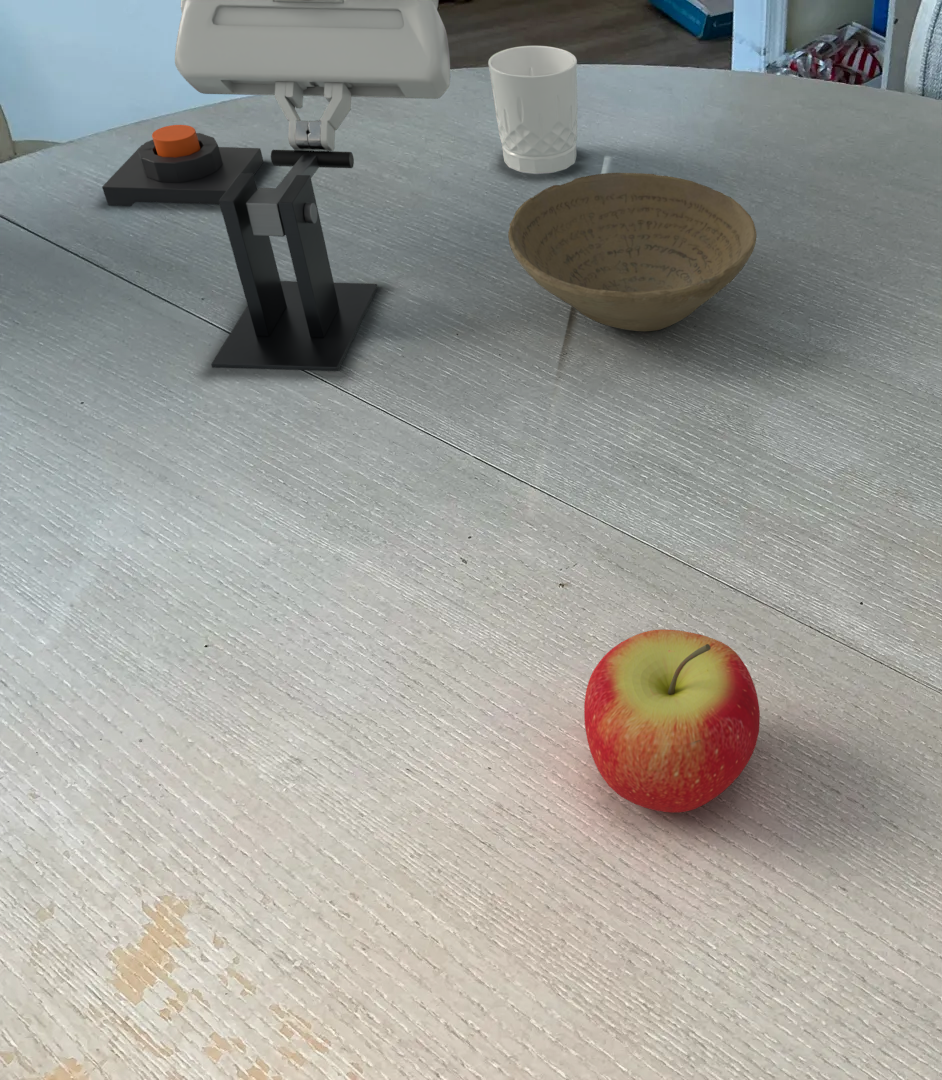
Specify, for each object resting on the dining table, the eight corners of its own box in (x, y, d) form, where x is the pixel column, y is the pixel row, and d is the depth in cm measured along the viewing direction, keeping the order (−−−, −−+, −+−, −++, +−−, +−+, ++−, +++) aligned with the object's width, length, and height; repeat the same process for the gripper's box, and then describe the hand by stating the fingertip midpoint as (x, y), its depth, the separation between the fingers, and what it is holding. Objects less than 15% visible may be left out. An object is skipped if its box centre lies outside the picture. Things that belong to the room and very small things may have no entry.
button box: (109, 210, 104) (94, 166, 101) (148, 167, 110) (135, 125, 108) (234, 214, 104) (222, 170, 101) (266, 170, 110) (255, 128, 108)
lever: (279, 170, 91) (272, 139, 90) (356, 172, 91) (350, 141, 90) (225, 235, 82) (217, 202, 80) (311, 237, 82) (304, 204, 80)
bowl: (785, 364, 87) (791, 267, 82) (539, 399, 83) (529, 300, 78) (715, 249, 101) (718, 159, 95) (500, 274, 96) (490, 182, 91)
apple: (731, 865, 55) (738, 728, 49) (562, 822, 57) (546, 683, 50) (773, 733, 61) (784, 595, 55) (619, 697, 63) (611, 559, 56)
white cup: (486, 179, 110) (474, 70, 103) (517, 146, 116) (507, 41, 109) (566, 189, 109) (559, 80, 102) (593, 155, 114) (588, 50, 108)
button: (151, 159, 103) (145, 140, 102) (166, 143, 106) (160, 123, 105) (192, 160, 103) (186, 141, 102) (206, 144, 106) (201, 125, 105)
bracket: (266, 293, 93) (229, 149, 86) (379, 297, 93) (352, 153, 86) (215, 377, 84) (167, 225, 77) (340, 381, 84) (305, 229, 77)
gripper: (163, -55, 87) (155, 128, 86) (439, -49, 87) (433, 134, 86) (201, -11, 93) (193, 160, 93) (458, -5, 93) (452, 166, 93)
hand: (311, 148), depth 90 cm, fingers closed, pressing on lever
